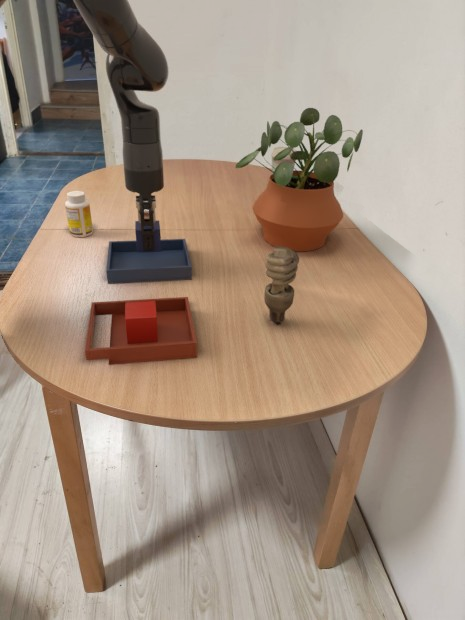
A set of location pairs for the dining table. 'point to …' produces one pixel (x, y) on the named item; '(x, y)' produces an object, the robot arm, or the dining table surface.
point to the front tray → (171, 342)
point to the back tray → (148, 262)
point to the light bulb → (280, 282)
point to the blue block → (140, 237)
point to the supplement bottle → (78, 214)
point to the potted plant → (301, 184)
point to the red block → (141, 322)
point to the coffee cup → (286, 159)
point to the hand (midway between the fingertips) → (148, 244)
